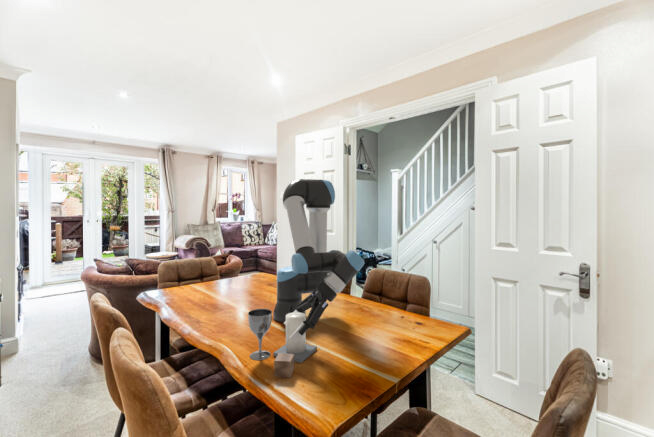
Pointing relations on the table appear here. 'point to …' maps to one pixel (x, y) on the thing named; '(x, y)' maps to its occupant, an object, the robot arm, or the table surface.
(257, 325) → the wine glass
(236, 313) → the table surface
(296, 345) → the white pillar candle
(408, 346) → the table surface
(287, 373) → the walnut block
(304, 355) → the coaster
